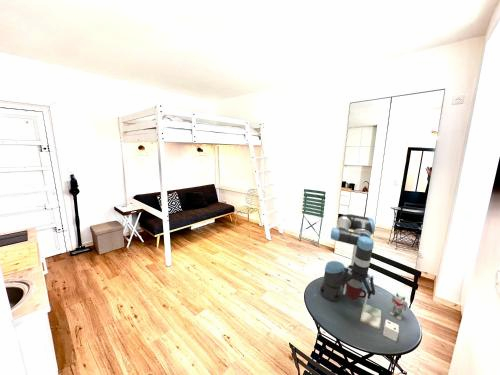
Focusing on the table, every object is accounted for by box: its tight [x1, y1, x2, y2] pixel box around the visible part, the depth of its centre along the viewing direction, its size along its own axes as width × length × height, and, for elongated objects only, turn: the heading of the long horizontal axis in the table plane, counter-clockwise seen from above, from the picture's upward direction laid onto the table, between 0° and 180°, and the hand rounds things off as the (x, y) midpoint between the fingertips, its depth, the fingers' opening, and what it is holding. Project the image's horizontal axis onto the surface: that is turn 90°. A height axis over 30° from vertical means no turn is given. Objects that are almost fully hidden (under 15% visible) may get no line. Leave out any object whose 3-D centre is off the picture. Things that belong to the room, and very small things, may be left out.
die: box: [382, 319, 400, 342], centre depth 112 cm, size 6×6×6 cm
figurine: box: [389, 292, 408, 321], centre depth 124 cm, size 8×8×15 cm
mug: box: [346, 279, 367, 301], centre depth 116 cm, size 11×8×10 cm
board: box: [359, 302, 382, 331], centre depth 124 cm, size 10×16×1 cm, turn 146°
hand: (354, 297), depth 117 cm, fingers closed on mug, 10 cm apart
